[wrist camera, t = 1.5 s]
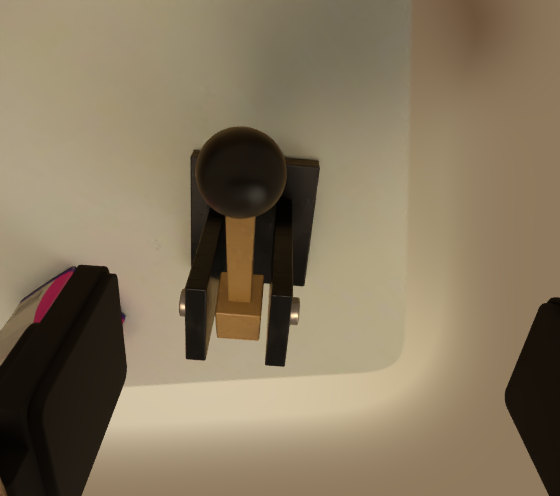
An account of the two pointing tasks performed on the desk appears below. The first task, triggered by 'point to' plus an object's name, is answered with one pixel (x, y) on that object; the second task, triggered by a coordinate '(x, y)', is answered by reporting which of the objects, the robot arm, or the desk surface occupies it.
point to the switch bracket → (267, 260)
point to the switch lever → (240, 217)
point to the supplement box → (32, 312)
